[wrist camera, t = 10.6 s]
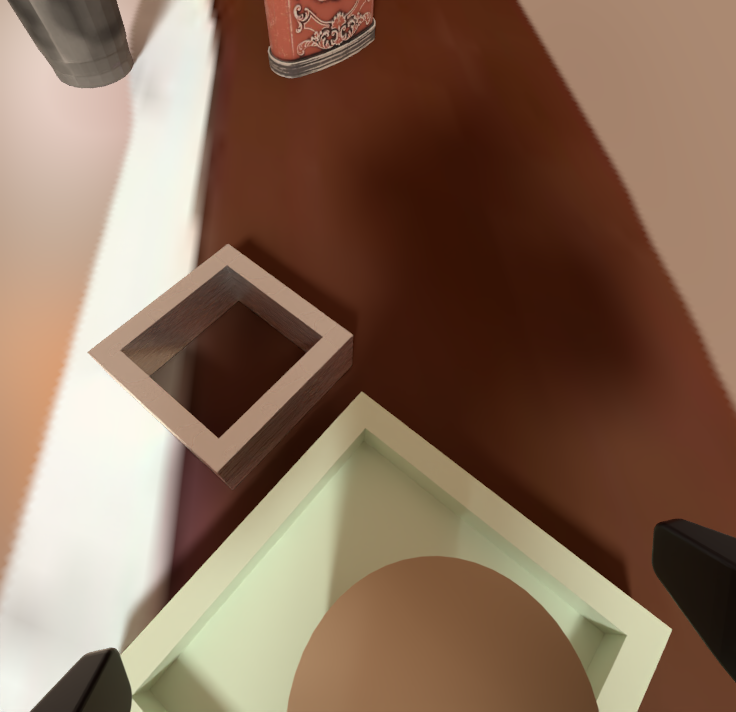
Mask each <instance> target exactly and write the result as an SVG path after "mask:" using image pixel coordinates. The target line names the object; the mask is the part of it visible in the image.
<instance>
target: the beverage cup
mask: <svg viewBox="0 0 736 712" xmlns="http://www.w3.org/2000/svg"><path fill="white" fill-rule="evenodd" d="M8 2H9V3H10V5H11V7H12V8H13V10H14V11H15V13H16V15H17V16H18V17H19V19H20V21H21V22H22V24H23V26H24V27H25V28H26V30H27V32H28V33H29V35H30V37H31V38H32V39H33V41H34V43H35V44H36V46H37V47H38V49H39V50H40V52H41V53H42V54H43V55H44V56H45V58H46V59H47V61H48V62H49V64H50V65H51V66H52V68H53V69H54V71H55V73H56V75H57V76H58V78H59V79H60V80H61V81H62V82H64V83H66V84H68V85H69V86H74V87H78V88H96V87H102V86H106V85H109V84H112V83H114V82H117V81H118V80H120V79H122V78H123V77H125V76H126V75H127V74H128V73H129V71H130V70H131V68H132V65H133V60H132V56H131V54H130V51H129V47H128V43H127V39H126V32H125V28H124V25H123V21H122V18H121V15H120V11H119V8H118V4H117V1H116V0H8Z"/></svg>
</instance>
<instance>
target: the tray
mask: <svg viewBox="0 0 736 712" xmlns="http://www.w3.org/2000/svg"><path fill="white" fill-rule="evenodd" d="M422 556H444V557H453V558H460V559H463V560H467V561H471V562H475V563H478V564H480V565H483V566H485V567H488V568H490V569H493V570H495V571H496V572H498V573H500V574H502V575H504V576H505V577H507V578H509V579H511V580H512V581H513V582H515V583H516V584H517V585H519V586H520V587H522V588H523V589H524V590H526V591H527V592H528V593H529V594H530V595H531V596H532V597H533V598H535V599H536V600H537V601H538V602H539V603H540V604H541V605H542V606H543V607H544V608H545V609H546V611H547V612H548V613H549V614H550V615H551V616H552V617H553V619H554V620H555V621H556V622H557V624H558V625H559V626H560V628H561V629H562V631H563V632H564V634H565V635H566V636H567V638H568V639H569V641H570V643H571V644H572V646H573V648H574V650H575V652H576V653H577V655H578V657H579V659H580V661H581V663H582V665H583V667H584V670H585V672H586V674H587V677H588V679H589V681H590V683H591V687H592V690H593V693H594V696H595V699H596V702H597V705H598V709H599V712H637V711H638V708H639V706H640V704H641V701H642V699H643V697H644V694H645V692H646V690H647V687H648V685H649V683H650V680H651V678H652V676H653V673H654V671H655V669H656V666H657V664H658V662H659V659H660V657H661V655H662V652H663V650H664V648H665V645H666V643H667V641H668V638H669V636H670V634H671V631H672V629H671V628H669V627H668V626H667V625H666V624H664V623H663V622H662V621H660V620H659V619H658V618H656V617H655V616H654V615H653V614H651V613H650V612H649V611H647V610H646V609H645V608H643V607H642V606H641V605H640V604H638V603H637V602H636V601H634V600H633V599H632V598H630V597H629V596H628V595H626V594H625V593H624V592H623V591H621V590H620V589H619V588H617V587H616V586H615V585H613V584H612V583H611V582H610V581H608V580H607V579H606V578H604V577H603V576H602V575H600V574H599V573H598V572H597V571H595V570H594V569H593V568H591V567H590V566H589V565H587V564H586V563H585V562H583V561H582V560H581V559H580V558H578V557H577V556H576V555H574V554H573V553H572V552H570V551H569V550H568V549H567V548H565V547H564V546H563V545H561V544H560V543H559V542H557V541H556V540H555V539H554V538H552V537H551V536H550V535H548V534H547V533H546V532H544V531H543V530H542V529H540V528H539V527H538V526H537V525H535V524H534V523H533V522H531V521H530V520H529V519H527V518H526V517H525V516H524V515H522V514H521V513H520V512H518V511H517V510H516V509H514V508H513V507H512V506H510V505H509V504H508V503H507V502H505V501H504V500H503V499H501V498H500V497H499V496H497V495H496V494H495V493H494V492H492V491H491V490H490V489H488V488H487V487H486V486H484V485H483V484H482V483H481V482H479V481H478V480H477V479H475V478H474V477H473V476H471V475H470V474H469V473H467V472H466V471H465V470H464V469H462V468H461V467H460V466H458V465H457V464H456V463H454V462H453V461H452V460H451V459H449V458H448V457H447V456H445V455H444V454H443V453H441V452H440V451H439V450H438V449H436V448H435V447H434V446H432V445H431V444H430V443H428V442H427V441H426V440H424V439H423V438H422V437H421V436H419V435H418V434H417V433H415V432H414V431H413V430H411V429H410V428H409V427H408V426H406V425H405V424H404V423H402V422H401V421H400V420H398V419H397V418H396V417H395V416H393V415H392V414H391V413H389V412H388V411H387V410H385V409H384V408H383V407H381V406H380V405H379V404H378V403H376V402H375V401H374V400H372V399H371V398H370V397H368V396H367V395H366V394H365V393H363V392H361V393H360V394H359V395H358V396H357V397H356V398H355V399H354V400H353V401H352V402H351V404H350V405H349V406H348V407H347V408H346V409H345V410H344V411H343V412H342V413H341V414H340V416H339V417H338V418H337V419H336V420H335V421H334V422H333V423H332V424H331V425H330V427H329V428H328V429H327V430H326V431H325V432H324V433H323V434H322V435H321V436H320V437H319V439H318V440H317V441H316V442H315V443H314V444H313V445H312V446H311V447H310V448H309V449H308V451H307V452H306V453H305V454H304V455H303V456H302V457H301V458H300V459H299V460H298V462H297V463H296V464H295V465H294V466H293V467H292V468H291V469H290V470H289V471H288V472H287V474H286V475H285V476H284V477H283V478H282V479H281V480H280V481H279V482H278V483H277V484H276V486H275V487H274V488H273V489H272V490H271V491H270V492H269V493H268V494H267V495H266V497H265V498H264V499H263V500H262V501H261V502H260V503H259V504H258V505H257V506H256V507H255V509H254V510H253V511H252V512H251V513H250V514H249V515H248V516H247V517H246V518H245V519H244V521H243V522H242V523H241V524H240V525H239V526H238V527H237V528H236V529H235V530H234V532H233V533H232V534H231V535H230V536H229V537H228V538H227V539H226V540H225V541H224V542H223V544H222V545H221V546H220V547H219V548H218V549H217V550H216V551H215V552H214V553H213V554H212V556H211V557H210V558H209V559H208V560H207V561H206V562H205V563H204V564H203V565H202V567H201V568H200V569H199V570H198V571H197V572H196V573H195V574H194V575H193V576H192V577H191V579H190V580H189V581H188V582H187V583H186V584H185V585H184V586H183V587H182V588H181V589H180V591H179V592H178V593H177V594H176V595H175V596H174V597H173V598H172V599H171V600H170V602H169V603H168V604H167V605H166V606H165V607H164V608H163V609H162V610H161V611H160V612H159V614H158V615H157V616H156V617H155V618H154V619H153V620H152V621H151V622H150V623H149V624H148V626H147V627H146V628H145V629H144V630H143V631H142V632H141V633H140V634H139V635H138V637H137V638H136V639H135V640H134V641H133V642H132V643H131V644H130V645H129V646H128V647H127V649H126V650H125V651H124V652H123V653H122V654H121V655H120V656H121V659H122V662H123V665H124V668H125V671H126V674H127V676H128V679H129V682H130V685H131V690H132V705H131V711H130V712H287V707H288V700H289V695H290V691H291V687H292V683H293V679H294V676H295V672H296V670H297V667H298V664H299V662H300V659H301V656H302V654H303V651H304V649H305V647H306V645H307V643H308V641H309V639H310V637H311V635H312V633H313V632H314V630H315V628H316V627H317V625H318V624H319V622H320V621H321V619H322V618H323V617H324V615H325V614H326V612H327V611H328V610H329V609H330V608H331V606H332V605H333V604H334V603H335V602H336V601H337V600H338V598H339V597H340V596H342V595H343V594H344V593H345V592H346V591H347V590H348V589H349V588H350V587H352V586H353V585H354V584H355V583H357V582H358V581H360V580H361V579H363V578H364V577H365V576H367V575H368V574H370V573H372V572H374V571H376V570H378V569H380V568H382V567H384V566H386V565H389V564H392V563H395V562H398V561H401V560H405V559H410V558H416V557H422Z"/></svg>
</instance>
